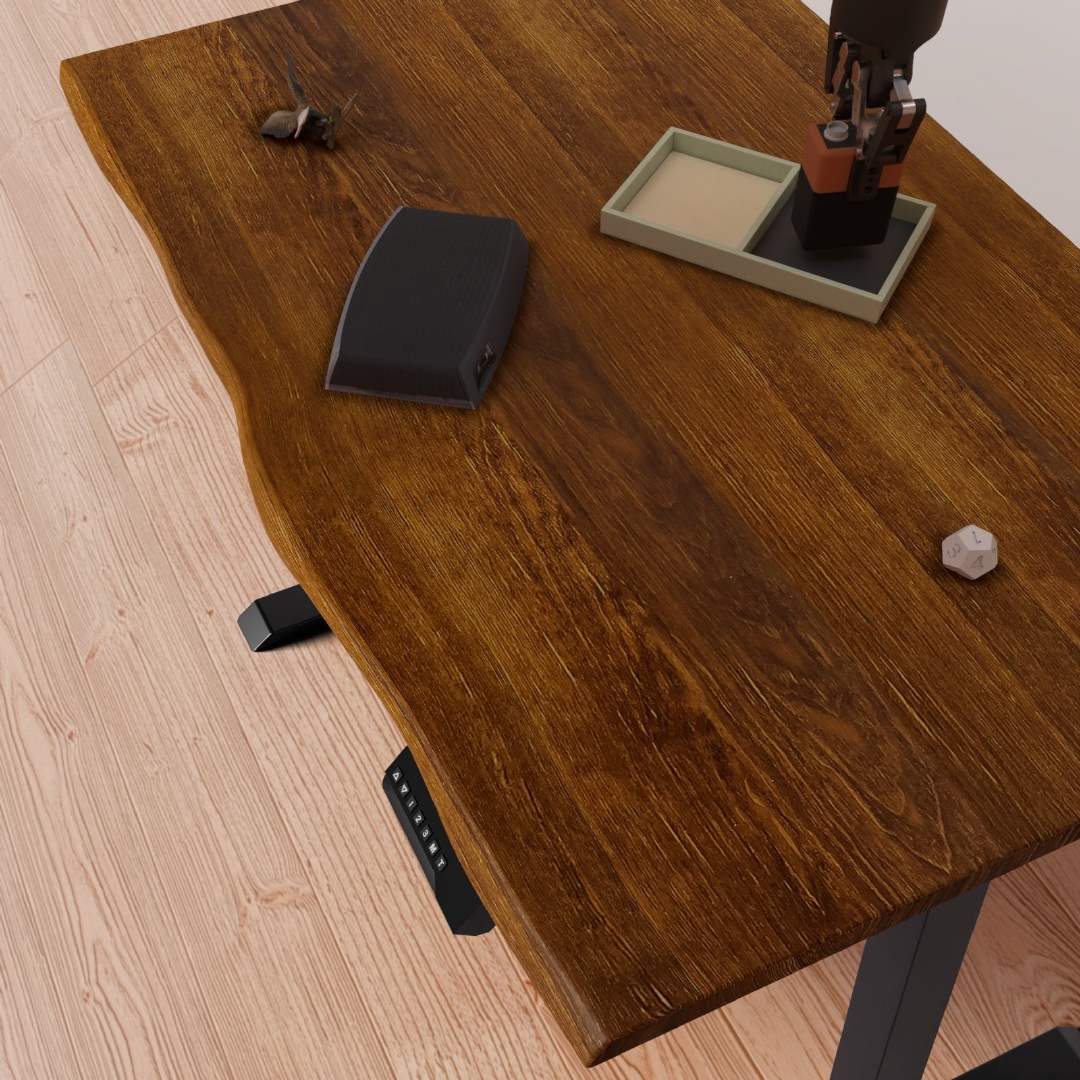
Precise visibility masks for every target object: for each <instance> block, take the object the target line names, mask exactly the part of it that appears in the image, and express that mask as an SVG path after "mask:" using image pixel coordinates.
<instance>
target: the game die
mask: <svg viewBox="0 0 1080 1080" xmlns="http://www.w3.org/2000/svg"><path fill="white" fill-rule="evenodd" d="M941 550H942V551H941V553H942V564H943V566H944V567H945V568H946V569H948V570H950V571H952V572H955V573H956V574H958V575H960V576H962V577H964V578H966V579H968V580H970V581H973V580H976V579H978V578H980V577H981V576H983V575H985V574H987V573H988V572H990V571H991V570H994V569H995V568H996V566H997V565H998V561H999V558H998V542H997V540H996V538H995V536H994V534H993V533H992V532H988V531H987V530H985V529H983V528H981V527H979V526H976V525H974V524H969V525H965V526H963V527H962V528H960V529H958V530H957V531H956V532H953V533H952V534H950V535H949V536H947V537H946V538H945V539H944V540H943V541H942V542H941Z"/></svg>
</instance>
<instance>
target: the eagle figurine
mask: <svg viewBox="0 0 1080 1080" xmlns="http://www.w3.org/2000/svg"><path fill="white" fill-rule="evenodd" d="M286 59H287V65H286V66H287V67H286V81H287V86H288V89H289V91H290V93H291V95H292V97H293V99H294V100H295V102H296V104H297V107H296V109H295V111H290V110H277V111H275V112H274V113H272V114H271V115H270V116H269V118H268V119H267V120H266V121H265V122H264V123H263V124H262V126H261V127H260V129H259V134H260V135H271V136H274V138H276V139H282V138H283V139H286V138H287V137H289V136H290V135H291V133H293V132H294V131H295V130H296V132H295V135H294V139H297V138H298V137H299V135H300V133H301V130H307V131H308V132H309V133H311V134H312V135H314V136H316V137H318V138H320V139H322V140H324V141H325V140H326V142H325V143H326V147H327V148H328V149H329V150H333V149H334V145H335V142H336V137H337V135H338V132H339V129H340V127H341V125H342V123H343V122H344V120H345V118H346V117H347V116H348V114H349V113H350V111H351V110H352V108H353V107H354V106H355V104H356V102H357V100H358V96H359V93H358V92H355V93H354V95H353V96H352V98H350V99H349V101H348V102H347V104H346V105H345V106H344V107H343V109H342V106H341V105H340V104H339V103H337V102H336V100H332V104H331V109H330V114H326V113H323V112H320V111H319V109H318V108H316V107H315V106H313V105H311V103H310V102H309V99H308V95H307V93H306V91H305V89H304V87H303V85H302V84H301V82H300V81H298V79H297V75H296V73H295V70H294V65H293V58H292V55H291V54H290V52H289V51H288V50H286ZM322 126H324V128H325V131H326V132H325V131H324V130H323V129H321V128H320V127H322Z"/></svg>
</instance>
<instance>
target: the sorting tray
mask: <svg viewBox="0 0 1080 1080" xmlns="http://www.w3.org/2000/svg"><path fill="white" fill-rule="evenodd" d="M800 166H801V163H798V162H794V161H791V160H787V159H784V158H781V157H777V156H774V155H770V154H767V153H763V152H760V151H756V150H754V149H750V148H747V147H743V146H740V145H736V144H733V143H730V142H726V141H722V140H719V139H716V138H713V137H708V136H706V135H702V134H700V133H695V132H692V131H688V130H685V129H682V128H678V127H676V126H670V127H669V128H668V129H667V130H666V131H665V132H664V133H663V135H662V136H661V137H660V139H658V141H657V142H656V144H655V145H654V146H653V147H652V148H651V149H650V151H649V152H648V153H647V154H646V156H645V157H644V158H643V159H642V160H641V161H640V163H639V164H638V165H637V166H636V167H635V169H634V170H633V171H632V172H631V173H630V175H629V176H628V177H627V178H626V179H625V181H624V182H623V183H622V184H621V185H620V187H619V188H618V189H617V190H616V192H614V194H613V195H612V196H611V197H610V198H609V200H608V201H607V202H606V203H605V205H604V206H603V207H602V208H601V209H600V222H599V223H600V224H599V227H600V228H599V233H600V234H604V235H607V236H609V237H613V238H615V239H619V240H622V241H625V242H628V243H631V244H634V245H637V246H640V247H642V248H646V249H649V250H652V251H655V252H658V253H661V254H663V255H667V256H669V257H673V258H676V259H679V260H682V261H685V262H688V263H692V264H694V265H697V266H700V267H703V268H706V269H709V270H712V271H715V272H718V273H721V274H724V275H727V276H729V277H733V278H735V279H739V280H743V281H745V282H748V283H751V284H754V285H757V286H760V287H763V288H765V289H769V290H772V291H775V292H778V293H780V294H784V295H787V296H790V297H793V298H796V299H799V300H803V301H805V302H809V303H810V304H811V303H812V304H814V305H817V306H820V307H823V308H826V309H829V310H832V311H835V312H838V313H841V314H845V315H847V316H851V317H853V318H856V319H859V320H861V321H862V320H863V321H865V322H868V323H871V324H874V325H877V324H878V322H879V320H880V318H881V316H882V314H883V313H884V311H885V310H886V307H887V305H888V304H889V302H890V300H891V298H892V297H893V295H894V293H895V291H896V289H897V287H898V286H899V284H900V282H901V280H902V279H903V277H904V275H905V273H906V271H907V270H908V267H909V266H910V264H911V263H912V260H913V258H914V257H915V255H916V253H917V252H918V250H919V248H920V246H921V244H922V242H923V240H924V239H925V237H926V235H927V233H928V231H929V230H930V228H931V226H932V222H933V218H934V215H935V213H936V209H937V204H936V203H933V202H930V201H927V200H924V199H919V198H915V197H913V196H909V195H905V194H903V193H900V192H898V193H897V197H896V201H895V204H894V208H893V212H892V215H891V219H890V223H889V227H888V230H887V234H886V238H885V240H884V242H883V243H881V244H875V245H865V246H855V247H844V248H834V249H823V250H813V251H805V250H804V249H803V248H802V246H801V244H800V241H799V239H798V236H797V234H796V231H795V229H794V227H793V224H792V222H791V215H792V209H793V204H794V198H795V193H796V188H797V182H798V177H799V172H800Z"/></svg>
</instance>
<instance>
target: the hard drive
mask: <svg viewBox="0 0 1080 1080" xmlns="http://www.w3.org/2000/svg"><path fill="white" fill-rule="evenodd" d="M529 255H530V244H529V242H528V240H527V237H526V235H525V233H524V231H523V230H522V228H521V226H520V225H519V223H518V222H517V221H516V220H515V219H514V218H512V217H511V218H510V217H499V216H490V215H489V216H488V215H481V214H480V215H479V214H471V213H461V212H454V211H453V212H452V211H445V210H437V209H429V208H428V209H427V208H418V207H411V206H404V205H399V206H398V207H397V208H396V209H394V211H393V212H392V214H390V216H389V217H388V219H387V220H386V221H385V223H384V224H383V225H382V227H381V229H380V230H379V232H377V235H376V236H375V238H374V240H373V241H372V243H371V244H370V246H369V248H368V250H367V251H366V253H365V255H364V257H363V259H362V261H361V263H360V265H359V267H358V269H357V271H356V274H355V277H354V279H353V281H352V284H351V286H350V289H349V291H348V294H347V297H346V300H345V302H344V306H343V310H342V312H341V315H340V319H339V323H338V326H337V330H336V334H335V337H334V341H333V344H332V350H331V354H330V359H329V363H328V364H329V365H328V367H327V373H326V379H325V384H324V390H326V391H331V392H332V391H333V392H339V393H347V394H352V395H353V394H355V395H362V396H369V397H376V398H384V399H390V400H398V401H406V402H414V403H420V404H426V405H427V404H429V405H435V406H442V407H451V408H459V409H465V410H471V411H476V410H477V407H478V406H480V404H481V402H482V401H483V398H484V397H485V395H486V393H487V391H488V388H489V386H490V385H491V382H492V380H493V378H494V375H495V373H496V370H497V368H498V366H499V364H500V361H501V360H502V356H503V354H504V351H505V349H506V346H507V344H508V341H509V338H510V335H511V332H512V329H513V327H514V324H515V320H516V317H517V313H518V309H519V306H520V302H521V298H522V294H523V290H524V284H525V280H526V275H527V269H528V263H529Z"/></svg>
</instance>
